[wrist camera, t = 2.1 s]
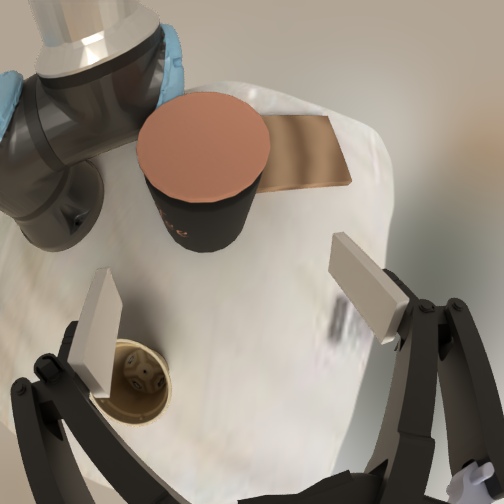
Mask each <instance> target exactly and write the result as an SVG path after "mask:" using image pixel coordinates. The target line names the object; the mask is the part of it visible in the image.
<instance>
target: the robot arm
mask: <svg viewBox="0 0 504 504" xmlns="http://www.w3.org/2000/svg"><path fill="white" fill-rule="evenodd" d="M28 1H29V4H30V8H31V10H32V14H33V16H34V19H35V22H36V25H37V28H38V30H39V33H40V35H41V38H42V41H43V46H42V48H41V50H40V53H39V55H38V57H37V59H36V62H35V70H36V74H34V75H33V76H31V77H29V78H27V79H26V80H23V76H22V75H21V74H20V73H18V72H17V71H9V72H4V73H2V74H1V75H0V210H1V211H2V212H4V213H6V214H7V215H9V216H10V217H12V218H13V219H14V220H15V222H16V223H17V224H18V225H19V227H20V229H21V231H22V233H23V235H24V236H25V238H26V239H27V240H28V241H29V242H30V243H31V244H33V245H34V246H36V247H38V248H40V249H42V250H45V251H48V252H59V251H63V250H66V249H68V248H70V247H72V246H74V245H75V244H77V243H78V242H79V241H81V240H82V239H83V238H84V237H85V236H86V235H87V233H88V232H89V231H90V230H91V228H92V227H93V225H94V224H95V222H96V220H97V218H98V216H99V213H100V211H101V207H102V203H103V196H104V189H103V182H102V179H101V177H100V174H99V173H98V171H97V170H96V168H95V167H94V165H93V164H92V163H91V162H90V161H89V160H88V159H89V158H92V157H94V156H97V155H99V154H101V153H104V152H106V151H109V150H112V149H114V148H117V147H119V146H122V145H125V144H127V143H130V142H133V141H136V140H138V136H139V132H140V130H141V128H142V127H143V125H144V123H145V121H146V120H147V118H148V117H149V116H150V115H151V114H152V113H153V112H154V111H155V110H156V109H157V108H159V107H160V106H161V105H162V104H164V103H166V102H168V101H170V100H172V99H174V98H176V97H178V96H182V95H184V68H183V66H182V64H181V62H182V51H181V45H180V41H179V38H178V35H177V32H176V31H175V29H174V28H173V26H171V25H168V24H160V19H159V15H158V13H157V12H156V11H154V10H152V9H150V8H148V7H146V6H144V5H142V4H140V2H139V0H28ZM328 271H329V273H330V274H331V275H332V277H333V278H334V279H335V281H336V282H337V283H338V285H339V286H340V287H341V289H342V290H343V291H344V293H345V294H346V295H347V297H348V298H349V299H350V301H351V302H352V304H353V305H354V306H355V308H356V309H357V310H358V312H359V313H360V315H361V316H362V317H363V319H364V320H365V321H366V323H367V324H368V326H369V327H370V329H371V330H372V331H373V333H374V334H375V336H376V337H377V338H378V340H379V341H380V343H381V344H384V343H387V342H389V341H392V340H394V337H395V335H396V332H398V334H399V335H400V336H401V337H400V339H399V341H398V343H397V346H396V348H395V350H394V351H396V350H397V348H398V350H397V356H396V362H395V368H394V373H393V378H392V383H391V388H390V393H389V398H388V402H387V406H386V410H385V415H384V418H383V422H382V426H381V430H380V433H379V437H378V440H377V443H376V446H375V450H374V453H373V455H372V457H371V459H370V461H369V462H368V464H367V467H366V468H365V471H364V473H350V471H349V470H346V471H344V472H341V473H339V474H336V475H333V476H330V477H328V478H325V479H323V480H321V481H319V482H318V483H316V484H314V485H313V486H311V487H309V488H307V489H306V490H304V491H302V492H300V493H298V494H287V495H263V496H259V497H254V498H248V499H242V500H237V501H238V504H491V503H493V502H495V501H497V500H499V499H502V498H504V415H503V411H502V407H501V402H500V398H499V394H498V390H497V387H496V383H495V380H494V376H493V373H492V370H491V367H490V364H489V361H488V357H487V354H486V352H485V349H484V346H483V343H482V341H481V338H480V335H479V333H478V330H477V328H476V325H475V323H474V321H473V318H472V316H471V313H470V311H469V309H468V306H467V305H466V304H465V303H464V302H463V301H462V300H460V299H458V298H451V299H449V300H448V302H447V305H446V306H435V305H434V304H433V303H432V302H430V301H428V300H426V299H420V300H419V299H418V298H417V297H416V296H415V295H414V293H412V291H411V290H410V289H409V288H408V287H407V286H406V285H405V284H404V283H403V282H402V281H401V280H399V278H398V277H397V276H396V275H395V274H394V273H393V272H391V271H389V270H387V269H381V268H380V267H379V266H378V265H377V264H376V263H375V262H374V261H373V260H372V259H371V258H370V257H369V256H368V255H367V254H366V253H365V252H364V251H363V250H362V249H361V248H360V247H359V246H358V245H357V244H356V243H355V242H354V241H353V240H352V239H351V238H350V237H348V236H347V235H346V234H345V233H344V232H340V233H333V237H332V246H331V254H330V262H329V270H328ZM122 306H123V304H122V301H121V299H120V296H119V293H118V291H117V288H116V285H115V283H114V280H113V277H112V274H111V272H110V269H109V267H107V268H100V269H97V271H96V273H95V276H94V278H93V281H92V284H91V286H90V289H89V292H88V295H87V298H86V300H85V303H84V306H83V309H82V312H81V315H80V318H79V321H72V322H71V323H70V324H69V326H68V327H67V328H66V331H65V334H64V338H63V340H62V345H61V346H60V350H59V353H58V357H56V356H55V355H54V354H51V353H48V354H44V355H42V356H40V357H39V358H38V359H37V361H36V362H35V364H34V373H35V374H36V376H37V377H38V378H39V379H40V381H37V382H34V383H31V382H30V381H29V380H28V379H27V378H24V377H22V378H19V379H17V380H16V381H15V382H14V383H13V384H12V387H11V402H12V410H13V417H14V423H15V428H16V434H17V438H18V444H19V448H20V452H21V456H22V460H23V464H24V468H25V471H26V474H27V478H28V481H29V484H30V487H31V490H32V493H33V496H34V499H35V501H36V504H95V502H94V500H93V498H92V496H91V494H90V492H89V490H88V488H87V486H86V484H85V481H84V479H83V477H82V475H81V472H80V470H79V468H78V465H77V463H76V460H75V458H74V455H73V453H72V450H71V447H70V445H69V442H68V439H67V436H66V433H65V430H64V427H63V424H62V421H61V419H64V421H65V423H66V424H67V426H68V427H69V429H70V431H71V432H72V434H73V435H74V437H75V438H76V440H77V441H78V443H79V444H80V445H81V447H82V448H83V450H84V451H85V453H86V454H87V455H88V457H89V458H90V459H91V461H92V462H93V463H94V465H95V466H96V467H97V468H98V470H99V471H100V472H101V473H102V475H103V476H104V477H105V478H106V480H107V481H108V482H109V483H110V484H111V485H112V487H113V488H114V489H115V490H116V491H117V492H118V493H119V494H120V496H121V497H122V498H123V499H124V500H125V501H126V502H127V503H128V504H191V503H190V502H188V501H187V500H186V499H184V498H183V497H182V496H181V495H180V494H178V493H177V492H176V491H175V490H174V489H172V488H171V487H170V486H169V485H168V484H167V483H166V482H165V481H163V480H162V479H161V478H160V477H159V476H158V475H157V474H156V473H155V472H154V471H153V470H152V469H151V468H149V467H148V466H147V465H146V464H145V463H144V462H143V461H142V460H141V459H140V458H139V457H138V455H137V454H136V453H135V452H134V451H133V450H132V449H131V448H130V447H129V446H128V445H127V444H126V443H125V442H124V440H123V439H122V438H121V437H120V436H119V435H118V434H117V432H116V431H115V430H114V429H113V428H112V427H111V425H110V424H109V423H108V422H107V420H106V419H105V418H104V417H103V416H102V414H101V413H100V412H99V410H98V409H97V408H96V406H95V405H94V404H93V403H92V401H91V400H90V399H89V395H90V392H91V393H92V394H93V395H94V397H95V398H110V388H111V379H112V370H113V362H114V355H115V348H116V341H117V335H118V329H119V323H120V317H121V312H122ZM437 372H438V376H439V382H440V387H441V393H442V399H443V405H444V413H445V420H446V430H447V440H448V453H449V464H450V469H451V474H452V479H451V482H450V485H448V487H447V490H446V492H447V494H448V495H449V500H448V502H445V501H441V500H438V499H435V498H432V497H429V496H426V495H424V493H425V489H426V486H427V481H428V478H429V473H430V469H431V464H432V460H433V454H434V449H435V440H434V439H433V438H431V428H432V422H433V414H434V406H435V396H436V384H437Z"/></svg>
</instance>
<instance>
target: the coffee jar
mask: <svg viewBox="0 0 504 504" xmlns="http://www.w3.org/2000/svg"><path fill="white" fill-rule="evenodd" d="M270 149H271V146H270V137H269V130H268V129H267V127H266V125H265V123H264V121H263V119H262V117H261V116H260V115H259V114H258V113H257V112H256V111H255V110H254V109H253V108H252V107H251V106H250V105H249V104H247V103H245V102H243V101H241V100H239V99H237V98H235V97H233V96H230V95H226V94H222V93H217V92H194V93H190V94H186V95H182V96H178V97H176V98H174V99H172V100H170V101H168V102H166V103H164V104H162V105H161V106H160V107H159V108H157V109H156V110H155V111H154V112H153V113H152V114H151V115H150V116H149V117H148V118H147V120H146V121H145V123H144V125H143V127H142V128H141V130H140V132H139V136H138V142H137V148H136V152H137V156H138V161H139V165H140V168H141V170H142V171H143V173H144V176H145V180H146V183H147V185H148V188H149V190H150V192H151V195H152V197H153V199H154V201H155V204H156V206H157V208H158V210H159V213H160V215H161V217H162V219H163V221H164V223H165V226H166V228H167V230H168V232H169V233H170V235H171V236H172V237H173V239H174V240H175V241H176V242H177V243H178V244H180V245H181V246H183V247H184V248H186V249H188V250H192V251H195V252H198V253H204V252H214V251H217V250H220V249H223V248H225V247H227V246H228V245H229V244H231V243H232V242H233V241H235V239H236V238H237V236H238V235H239V234H240V232H241V231H242V229H243V226H244V223H245V220H246V218H247V215H248V212H249V210H250V207H251V204H252V201H253V199H254V196H255V193H256V191H257V188H258V185H259V183H260V180H261V176H262V173H263V169H264V167H265V166H266V163H267V159H268V156H269V152H270Z"/></svg>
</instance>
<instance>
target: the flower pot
mask: <svg viewBox="0 0 504 504" xmlns="http://www.w3.org/2000/svg"><path fill="white" fill-rule="evenodd" d="M151 355H152V356H151ZM132 357H133V360H132V362H131V363H130V364H129V363H128V362H129V360H130V359H131V358H132ZM144 370H146V373H144V372H143V371H144ZM162 378H163V379H164V380H163V383H162V385H161V386H160V387H159V386H158V383H159V382H160V381H161V379H162ZM134 381H135V382H136V383H138V384H139V385H141V388H137V387H136V386H135V385H134V384H133V382H134ZM171 393H172V385H171V380H170V376H169V369H168V366H167V363H166V361H165V360H164V358H163V357H162V356H161V355H160V354H159V353H157V352H156V351H154V350H152V349H150V348H148V347H147V346H145V345H143V344H141V343H139V342H136V341H133V340H130V339H123V338H120V339H117V341H116V348H115V355H114V362H113V370H112V379H111V388H110V398H95V397H94V395H93V394H92V393H91V392H90V397H91V398H92V400H93V402H94V404H95V405H96V406H97V407H98V409H99V410H100V411H101V412H102V413H103V414H104V415H106V416H107V417H108V418H110V419H112V420H113V421H115V422H117V423H120V424H123V425H127V426H133V427H138V426H139V427H140V426H145V425H149V424H151V423H153V422H155V421H156V420H158V419H159V418H160V417H161V416H162V415H163V414H164V413H165V411H166V410H167V408H168V406H169V403H170V400H171Z"/></svg>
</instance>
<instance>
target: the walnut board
mask: <svg viewBox="0 0 504 504" xmlns="http://www.w3.org/2000/svg"><path fill="white" fill-rule="evenodd" d="M261 117H262V119H263V121H264V123H265V125H266V127H267V129H268V130H269V137H270V146H271V149H270V152H269V156H268V159H267V163H266V166H265V167H264V169H263V173H262V176H261V180H260V183H259V185H258V188H257V191H256V193H262V192H271V191H281V190H292V189H304V188H316V187H330V186H345V185H349V184H350V183H351V182H352V179H351V176H350V173H349V170H348V167H347V164H346V162H345V159H344V156H343V153H342V151H341V148H340V146H339V143H338V140H337V138H336V135H335V133H334V130H333V128H332V125H331V123H330V120H329V118H328V116H309V115H280V116H261Z"/></svg>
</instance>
